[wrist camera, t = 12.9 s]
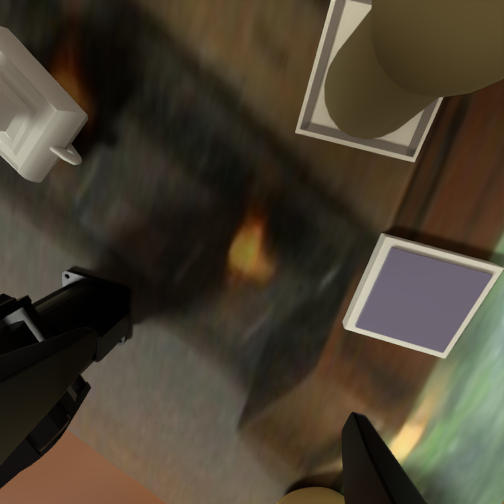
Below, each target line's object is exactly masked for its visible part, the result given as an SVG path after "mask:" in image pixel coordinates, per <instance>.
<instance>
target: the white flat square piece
mask: <svg viewBox="0 0 504 504" xmlns="http://www.w3.org/2000/svg"><path fill="white" fill-rule="evenodd" d="M371 7H372V0H331V3H330V7H329V10H328V14H327V18H326V21H325V25H324V29H323V32H322V36H321V40H320V43H319V47H318V51H317V54H316V58H315V62H314V65H313V69H312V72H311V76H310V80H309V83H308V87H307V91H306V94H305V98H304V102H303V105H302V109H301V113H300V116H299V120H298V124H297V127H296V131H295V133H298V134H302V135H306V136H310V137H314V138H318V139H322V140H326V141H330V142H334V143H338V144H342V145H346V146H350V147H354V148H358V149H362V150H366V151H370V152H374V153H378V154H382V155H386V156H390V157H394V158H398V159H402V160H406V161H410V162H415V160H416V158H417V156H418V153H419V151H420V149H421V147H422V144H423V142H424V140H425V138H426V135H427V133H428V131H429V129H430V126H431V124H432V122H433V120H434V117H435V115H436V113H437V110H438V108H439V106H440V104H441V101H442V99H443V97H439V98H438V99H436V100H435V101H434V102H432V103H431V104H430V105H429V106H427V107H426V108H425V109H423V110H422V111H421V112H420V113H418V114H417V115H416V116H414V117H413V118H412V119H411V120H409V121H408V122H407V123H406V124H404V125H403V126H402V127H400V128H399V129H398V130H396V131H394V132H392V133H390V134H387V135H385V136H383V137H380V138H371V139H362V138H357V137H353V136H350V135H348V134H347V133H345V132H344V131H342V130H340V129H339V128H338V127H337V126H336V124H335V123H334V122H333V120H332V119H331V118H330V116H329V113H328V110H327V107H326V104H325V98H324V84H325V80H326V76H327V72H328V68H329V66H330V64H331V62H332V61H333V59H334V57H335V55H336V54H337V52H338V50H339V49H340V48H341V47H342V45H343V44H344V43H345V41H346V40H347V39H348V38H349V36H350V35H351V34H352V33H353V31H354V30H355V29H356V27H357V26H358V25H359V24H360V22H361V21H362V20H363V19H364V17H365V16H366V15H367V13H368V12H369V11H370V10H371Z"/></svg>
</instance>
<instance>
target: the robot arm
mask: <svg viewBox="0 0 504 504" xmlns="http://www.w3.org/2000/svg"><path fill="white" fill-rule="evenodd" d="M62 285H63V287H62V288H60V289H59V290H57V291H55V292H53V293H51V294H49V295H48V296H46V297H44V298H42V299H40V300H38V301H37V302H35V303H33V304H32V303H31V302H32V300H31V299H30V297H29V296H28V295H27V296H24V297H21V298H19V299H16V298H14V297H13V298H12V297H10V296H8V295H6V294H4V293H3V294H1V295H0V489H1V488H2V487H3V486H4V485H5V484H6V483H8V482H9V481H10V480H11V479H12V478H13V477H15V476H16V475H17V474H18V473H19V472H21V471H22V470H24V469H26V468H27V467H29V466H30V465H32V464H33V463H34V462H36V461H37V460H38V459H40V457H42V456H43V455H44V454H45V453H47V452H48V451H49V450H50V449H51V448H52V447H53V446H54V445H55V443H56V442H57V441H58V440H59V439H60V438H61V436H62V435H63V433H64V432H65V430H66V429H67V427H68V425H69V424H70V422H71V420H72V419H73V417H74V415H75V414H76V412H77V410H78V409H79V407H80V405H81V404H82V402H83V400H84V399H85V397H86V395H87V394H88V392H89V390H90V389H91V386H90V385H89V383H88V382H85V380H84V379H83V377H82V376H81V374H82V373H83V372H84V371H85V370H86V369H87V368H88V367H89V366H90V365H91V364H92V363H93V362H94V361H95V362H99V361H101V360H102V359H103V358H104V357H105V356H106V355H107V354H108V353H109V352H110V351H111V350H112V349H113V348H114V347H115V346H116V345H117V344H118V345H123V344H124V343H125V342H126V340H127V333H128V332H129V319H130V311H129V303H130V290H129V288H128V287H125V286H122V285H119V284H116V283H112V282H109V281H106V280H102V279H99V278H96V277H92V276H89V275H86V274H82V273H79V272H76V271H72V270H67V271H65V272H63V273H62ZM123 291H124V292H125V293H124V292H123ZM342 463H343V490H344V500H345V504H427V502H426V501H425V499H424V498H423V497H422V495H421V494H420V492H419V491H418V489H417V488H416V487H415V485H414V484H413V482H412V481H411V479H410V478H409V477H408V475H407V474H406V472H405V471H404V469H403V468H402V467H401V465H400V464H399V462H398V461H397V460H396V458H395V457H394V455H393V454H392V452H391V451H390V450H389V448H388V447H387V445H386V444H385V442H384V441H383V440H382V438H381V437H380V435H379V434H378V432H377V431H376V430H375V428H374V427H373V425H372V424H371V422H370V421H369V420H368V418H367V417H366V416H365V415H362V414H359V413H356V412H352V413H351V414H350V416H349V418H348V419H347V421H346V423H345V425H344V427H343V430H342Z"/></svg>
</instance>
